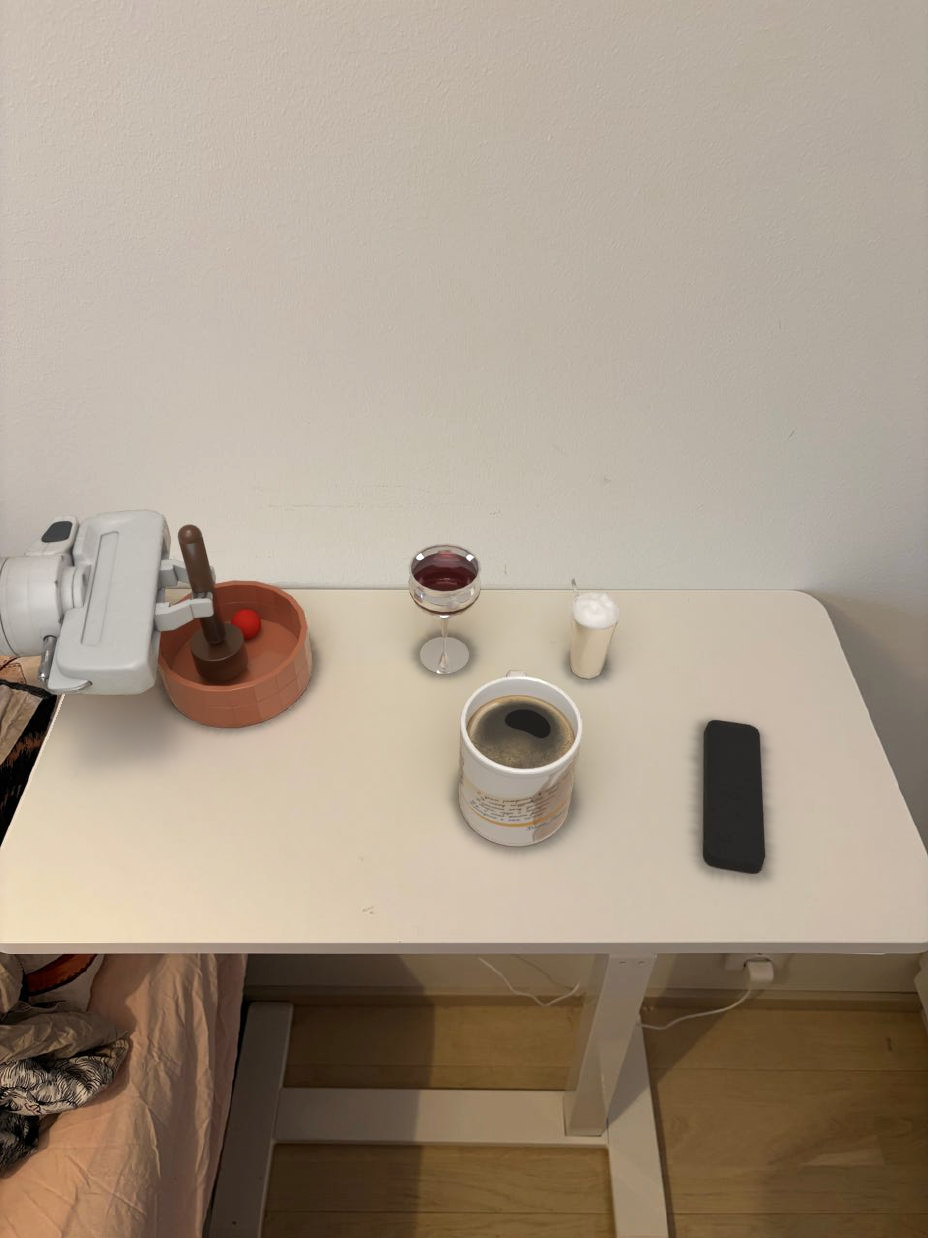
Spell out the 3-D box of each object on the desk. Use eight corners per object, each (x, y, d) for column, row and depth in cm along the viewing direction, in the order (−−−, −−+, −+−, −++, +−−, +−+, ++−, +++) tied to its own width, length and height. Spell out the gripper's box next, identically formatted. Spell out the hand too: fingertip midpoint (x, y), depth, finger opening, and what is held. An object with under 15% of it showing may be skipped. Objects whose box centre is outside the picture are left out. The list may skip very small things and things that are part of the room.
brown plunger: (198, 686, 88) (158, 551, 76) (193, 648, 91) (155, 513, 79) (251, 675, 89) (221, 541, 77) (245, 638, 92) (214, 503, 80)
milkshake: (577, 638, 96) (588, 567, 88) (618, 667, 93) (632, 596, 86) (547, 661, 93) (556, 590, 86) (588, 691, 91) (601, 621, 84)
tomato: (235, 648, 93) (229, 626, 91) (232, 627, 95) (226, 606, 93) (265, 641, 94) (259, 620, 92) (261, 621, 96) (256, 600, 94)
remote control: (761, 878, 78) (756, 732, 88) (766, 868, 76) (761, 721, 86) (701, 868, 78) (703, 724, 88) (705, 858, 77) (707, 713, 87)
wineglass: (468, 625, 97) (471, 538, 88) (486, 673, 92) (490, 586, 84) (404, 636, 95) (400, 549, 87) (419, 686, 91) (416, 599, 82)
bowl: (171, 742, 86) (158, 705, 82) (161, 633, 95) (148, 595, 91) (324, 709, 89) (318, 672, 85) (299, 607, 98) (293, 569, 94)
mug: (429, 802, 82) (428, 725, 74) (508, 716, 89) (515, 637, 81) (528, 868, 78) (538, 794, 70) (603, 773, 84) (620, 696, 76)
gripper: (19, 669, 72) (201, 652, 74) (60, 503, 86) (212, 492, 88) (44, 719, 77) (215, 702, 78) (79, 554, 91) (223, 542, 92)
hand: (214, 590), depth 83 cm, fingers closed on brown plunger
